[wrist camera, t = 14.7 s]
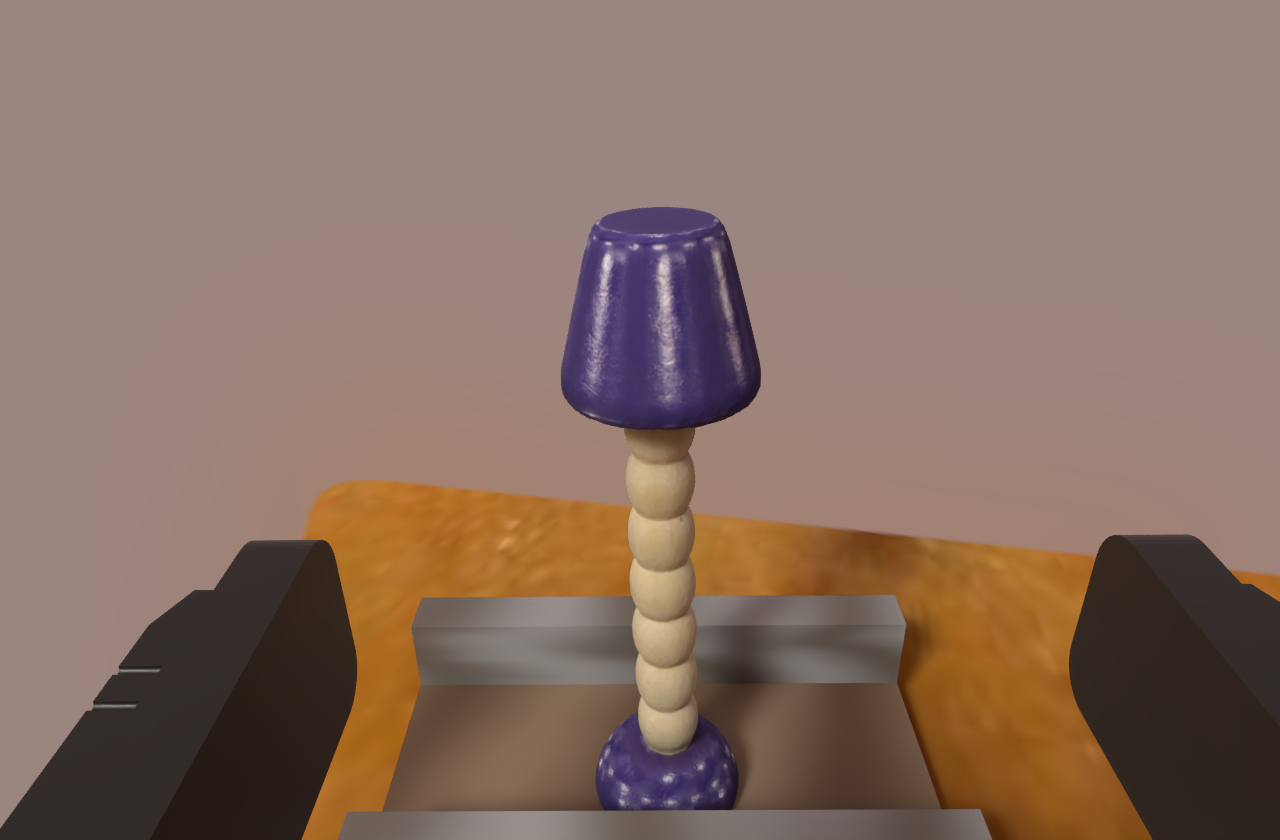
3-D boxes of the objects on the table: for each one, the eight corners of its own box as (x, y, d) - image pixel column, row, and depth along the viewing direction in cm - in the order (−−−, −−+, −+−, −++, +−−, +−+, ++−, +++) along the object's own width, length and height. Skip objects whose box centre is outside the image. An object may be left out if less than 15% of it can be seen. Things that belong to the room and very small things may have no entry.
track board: (875, 653, 32) (887, 576, 31) (990, 993, 22) (1017, 902, 20) (439, 656, 32) (428, 579, 31) (340, 995, 22) (315, 905, 20)
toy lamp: (551, 792, 26) (506, 229, 18) (636, 692, 29) (628, 185, 22) (695, 870, 24) (712, 264, 16) (768, 752, 27) (811, 209, 19)
